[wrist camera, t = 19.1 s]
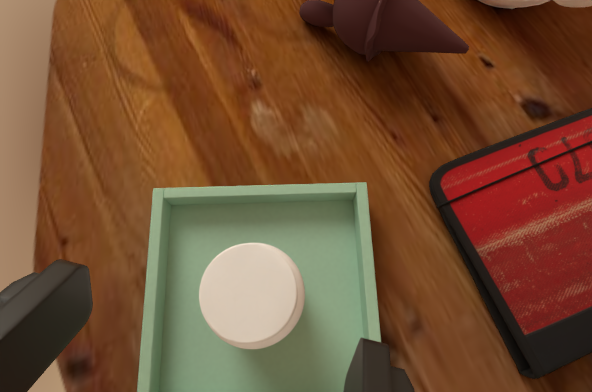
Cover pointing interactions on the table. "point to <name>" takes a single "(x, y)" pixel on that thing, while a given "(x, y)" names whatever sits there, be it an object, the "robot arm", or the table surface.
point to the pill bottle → (252, 295)
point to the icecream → (384, 26)
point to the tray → (288, 238)
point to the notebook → (528, 237)
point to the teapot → (535, 3)
